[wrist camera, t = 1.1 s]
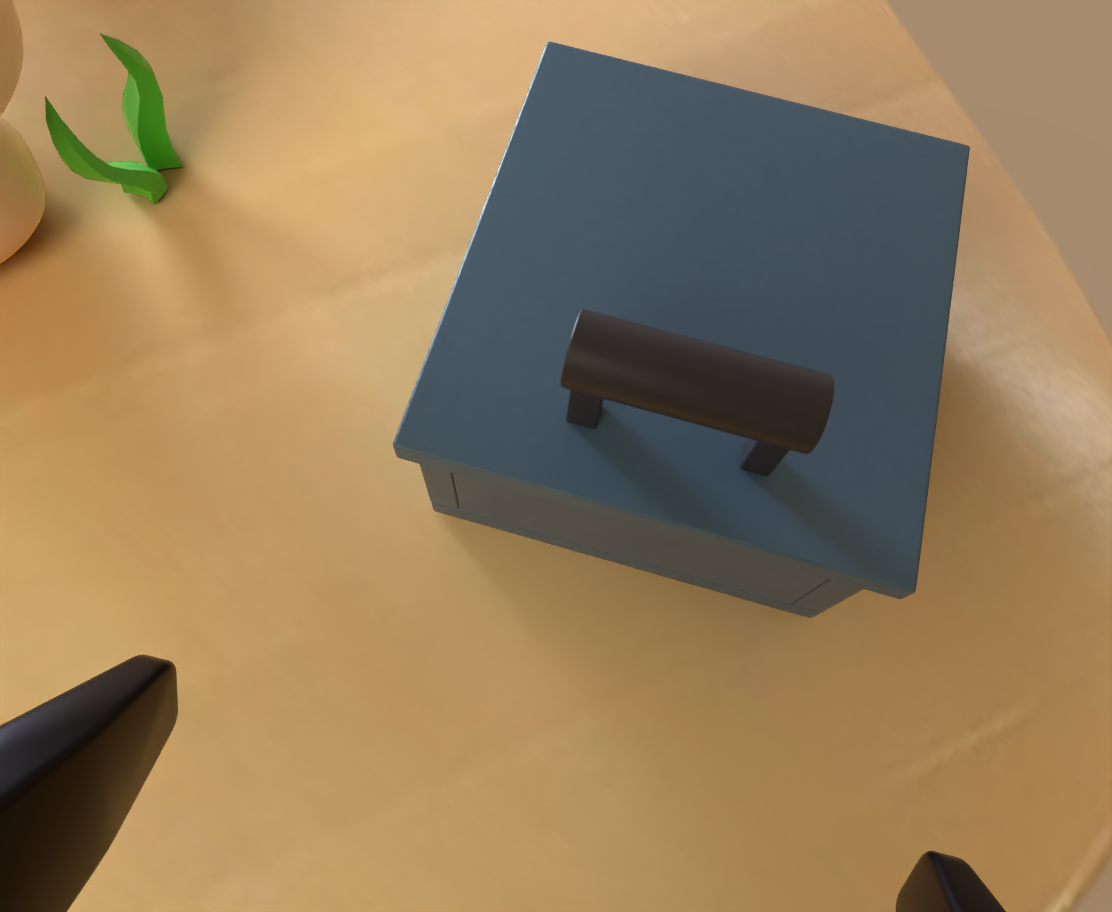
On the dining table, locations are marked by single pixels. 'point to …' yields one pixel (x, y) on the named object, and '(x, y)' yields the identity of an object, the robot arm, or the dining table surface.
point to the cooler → (633, 545)
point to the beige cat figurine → (75, 140)
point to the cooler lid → (704, 319)
